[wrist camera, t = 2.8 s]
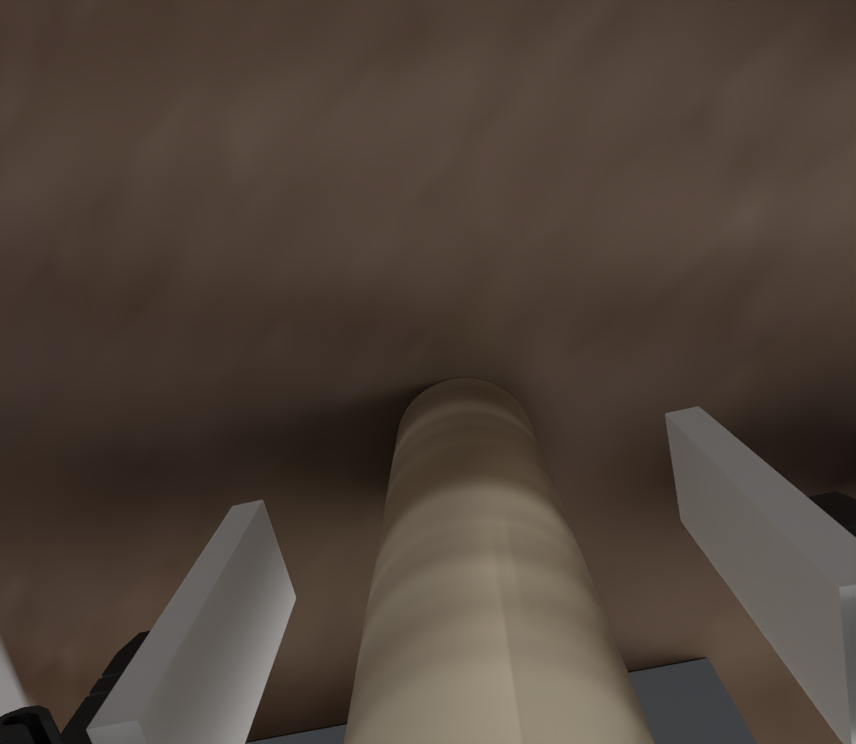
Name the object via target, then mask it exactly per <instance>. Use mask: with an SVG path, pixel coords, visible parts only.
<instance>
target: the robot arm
mask: <svg viewBox="0 0 856 744" xmlns="http://www.w3.org/2000/svg"><path fill="white" fill-rule="evenodd" d="M665 420H666V426H667V433H668V440H669V446H670V453H671V460H672V466H673V473H674V480H675V486H676V493H677V500H678V506H679V513H680V520H681V522H682V523H683V525H684V526H685V527H686V529H687V530H688V531H689V533H690V534H691V536H692V537H693V538H694V540H695V541H696V542H697V544H698V545H699V547H700V548H701V549H702V551H703V552H704V553H705V555H706V556H707V558H708V559H709V560H710V562H711V563H712V564H713V566H714V567H715V569H716V570H717V571H718V573H719V574H720V575H721V577H722V578H723V580H724V581H725V582H726V584H727V585H728V586H729V588H730V589H731V591H732V592H733V593H734V595H735V596H736V597H737V599H738V600H739V602H740V603H741V604H742V606H743V607H744V608H745V610H746V611H747V613H748V614H749V615H750V617H751V618H752V619H753V621H754V622H755V624H756V625H757V626H758V628H759V629H760V630H761V632H762V633H763V635H764V636H765V637H766V639H767V640H768V641H769V643H770V644H771V646H772V647H773V648H774V650H775V651H776V652H777V654H778V655H779V657H780V658H781V659H782V661H783V662H784V663H785V665H786V666H787V668H788V669H789V670H790V672H791V673H792V674H793V676H794V677H795V679H796V680H797V681H798V683H799V684H800V685H801V687H802V688H803V690H804V691H805V692H806V694H807V695H808V696H809V698H810V699H811V701H812V702H813V703H814V705H815V706H816V707H817V709H818V710H819V712H820V713H821V714H822V716H823V717H824V718H825V720H826V721H827V723H828V724H829V725H830V727H831V728H832V729H833V731H834V732H835V734H836V735H837V736H838V738H839V739H840V740H841V742H842V743H843V744H856V499H854V498H851V497H849V496H846V495H843V494H841V493H838V492H830V493H825V494H820V495H815V496H810V497H807V496H805V495H804V494H803V493H802V492H801V491H799V490H798V489H797V488H796V487H795V486H793V485H792V484H791V483H790V482H789V481H787V480H786V479H785V478H784V477H783V476H782V475H780V474H779V473H778V472H777V471H776V470H774V469H773V468H772V467H771V466H770V465H768V464H767V463H766V462H765V461H764V460H762V459H761V458H760V457H759V456H758V455H756V454H755V453H754V452H753V451H752V450H750V449H749V448H748V447H747V446H746V445H744V444H743V443H742V442H741V441H740V440H739V439H737V438H736V437H735V436H734V435H733V434H731V433H730V432H729V431H728V430H727V429H725V428H724V427H723V426H722V425H721V424H719V423H718V422H717V421H716V420H715V419H713V418H712V417H711V416H710V415H709V414H707V413H706V412H705V411H704V410H703V409H701V408H700V407H699V406H697V407H692V408H688V409H683V410H678V411H674V412H669V413H665ZM295 600H296V596H295V593H294V590H293V587H292V584H291V581H290V578H289V575H288V572H287V569H286V566H285V563H284V560H283V557H282V554H281V551H280V548H279V546H278V543H277V540H276V537H275V534H274V531H273V528H272V525H271V522H270V519H269V516H268V513H267V510H266V507H265V504H264V501H263V500H258V501H254V502H249V503H244V504H240V505H235V506H232V507H231V509H230V510H229V512H228V514H227V515H226V517H225V518H224V520H223V521H222V523H221V524H220V526H219V527H218V529H217V530H216V532H215V533H214V535H213V536H212V538H211V539H210V541H209V543H208V544H207V546H206V547H205V549H204V550H203V552H202V553H201V555H200V556H199V558H198V559H197V561H196V562H195V564H194V565H193V567H192V569H191V570H190V572H189V573H188V575H187V576H186V578H185V579H184V581H183V582H182V584H181V585H180V587H179V588H178V590H177V591H176V593H175V594H174V596H173V598H172V599H171V601H170V602H169V604H168V605H167V607H166V608H165V610H164V611H163V613H162V614H161V616H160V617H159V619H158V620H157V622H156V623H155V625H154V627H153V628H152V630H151V631H147V632H142V633H139V634H138V635H137V636H136V637H134V638H133V639H132V640H131V641H130V642H129V643H128V644H127V645H125V646H124V647H123V648H122V649H121V650H120V651H119V652H118V653H117V654H116V655H115V656H114V658H113V659H112V661H111V662H110V664H109V665H108V667H107V668H106V669H105V671H104V672H103V674H102V678H101V679H98V681H97V682H96V684H95V685H94V687H93V688H92V690H91V691H90V696H88V697H86V698H85V700H84V701H83V702H82V704H81V705H80V707H79V708H78V710H77V711H76V712H75V714H74V715H73V717H72V718H71V720H70V721H69V723H68V724H67V725H66V727H65V728H64V730H63V731H62V733H61V734H60V732H59V730H58V728H57V726H56V724H55V722H54V720H53V718H52V716H51V714H50V712H49V710H48V709H47V708H44V707H42V706H39V705H38V706H30V707H23V708H20V709H18V710H15V711H12V712H9V713H7V714H4V715H3V716H1V717H0V744H245V742H246V739H247V736H248V733H249V730H250V728H251V725H252V722H253V719H254V716H255V713H256V711H257V708H258V705H259V702H260V699H261V696H262V694H263V691H264V688H265V685H266V682H267V679H268V676H269V674H270V671H271V668H272V665H273V662H274V659H275V657H276V654H277V651H278V648H279V645H280V642H281V639H282V637H283V634H284V631H285V628H286V625H287V622H288V620H289V617H290V614H291V611H292V608H293V605H294V603H295Z"/></svg>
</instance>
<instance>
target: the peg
mask: <svg viewBox="0 0 856 744" xmlns="http://www.w3.org/2000/svg"><path fill="white" fill-rule="evenodd" d="M344 744H655V741H654V738H653V736H652V733H651V731H650V728H649V726H648V723H647V720H646V718H645V715H644V713H643V710H642V708H641V705H640V702H639V700H638V697H637V695H636V692H635V690H634V687H633V684H632V682H631V679H630V677H629V674H628V672H627V669H626V666H625V664H624V661H623V659H622V656H621V654H620V651H619V648H618V646H617V643H616V641H615V638H614V636H613V633H612V630H611V628H610V625H609V623H608V620H607V618H606V615H605V612H604V610H603V607H602V605H601V602H600V600H599V597H598V595H597V592H596V589H595V587H594V584H593V582H592V579H591V577H590V574H589V571H588V569H587V566H586V564H585V561H584V559H583V556H582V553H581V551H580V548H579V546H578V543H577V541H576V538H575V535H574V533H573V530H572V528H571V525H570V523H569V520H568V517H567V515H566V512H565V510H564V507H563V505H562V502H561V499H560V497H559V494H558V492H557V489H556V487H555V484H554V481H553V479H552V476H551V474H550V471H549V469H548V466H547V463H546V461H545V458H544V456H543V453H542V451H541V448H540V445H539V443H538V440H537V438H536V435H535V433H534V430H533V427H532V425H531V422H530V420H529V418H528V415H527V413H526V411H525V410H524V408H523V407H522V405H521V404H520V403H519V402H518V400H517V399H516V398H515V397H514V396H513V395H512V394H510V393H509V392H508V391H506V390H505V389H503V388H502V387H500V386H498V385H496V384H494V383H491V382H488V381H485V380H481V379H476V378H456V379H450V380H446V381H443V382H440V383H438V384H435V385H433V386H431V387H429V388H428V389H426V390H425V391H423V392H422V393H421V394H419V395H418V396H417V397H416V398H415V399H414V400H413V401H412V402H411V404H410V405H409V406H408V408H407V409H406V411H405V413H404V415H403V416H402V419H401V421H400V424H399V428H398V433H397V438H396V444H395V450H394V456H393V461H392V467H391V473H390V479H389V484H388V490H387V496H386V502H385V507H384V513H383V519H382V525H381V531H380V536H379V542H378V548H377V554H376V559H375V565H374V571H373V577H372V582H371V588H370V594H369V600H368V606H367V611H366V617H365V623H364V629H363V634H362V640H361V646H360V652H359V657H358V663H357V669H356V675H355V681H354V686H353V692H352V698H351V704H350V709H349V715H348V721H347V727H346V732H345V738H344Z"/></svg>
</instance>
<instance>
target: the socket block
mask: <svg viewBox="0 0 856 744" xmlns="http://www.w3.org/2000/svg"><path fill="white" fill-rule="evenodd" d="M628 674H629V677H630V679H631V682H632V684H633V687H634V690H635V692H636V695H637V697H638V700H639V702H640V705H641V708H642V710H643V713H644V715H645V718H646V720H647V723H648V726H649V728H650V731H651V733H652V736H653V738H654V741H655V744H757V743H756V741H755V739H754V737H753V736H752V734H751V732H750V730H749V729H748V727H747V725H746V723H745V722H744V720H743V718H742V716H741V715H740V713H739V711H738V709H737V708H736V706H735V704H734V702H733V701H732V699H731V697H730V695H729V694H728V692H727V690H726V688H725V687H724V685H723V683H722V681H721V680H720V678H719V676H718V674H717V673H716V671H715V669H714V667H713V666H712V664H711V662H710V660H709V659H708V658H706V659H701V660H695V661H690V662H684V663H679V664H674V665H668V666H663V667H657V668H652V669H646V670H641V671H635V672H630V673H628ZM346 727H347V724H346V725H341V726H335V727H330V728H324V729H319V730H313V731H308V732H303V733H297V734H292V735H286V736H281V737H275V738H270V739H264V740H259V741H253V742H248V743H245V744H344V738H345V732H346Z"/></svg>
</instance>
